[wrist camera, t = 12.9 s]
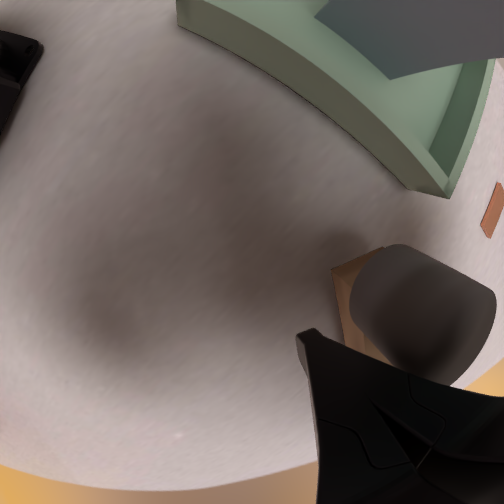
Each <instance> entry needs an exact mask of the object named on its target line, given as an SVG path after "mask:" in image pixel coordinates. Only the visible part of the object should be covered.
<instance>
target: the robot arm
mask: <svg viewBox="0 0 504 504" xmlns="http://www.w3.org/2000/svg"><path fill="white" fill-rule="evenodd" d="M32 49H34V50H33V52H32V53H31V54H30V55H29V53H30V51H31V50H32ZM42 51H43V45H42V44H41V43H40V42H38V41H37V40H34V39H31V38H28V37H24V36H21V35H17V34H13V33H9V32H5V31H1V30H0V134H1V131H2V129H3V126H4V124H5V122H6V119H7V117H8V115H9V113H10V110H11V108H12V106H13V104H14V102H15V100H16V98H17V96H18V94H19V92H20V90H21V88H22V86H23V84H24V82H25V81H26V79H27V77H28V75H29V74H30V72H31V70H32V68H33V67H34V65H35V63H36V62H37V60H38V59H39V57H40V55H41V53H42ZM296 344H297V351H298V356H299V359H300V362H301V364H302V366H303V368H304V370H305V372H306V375H307V377H308V384H309V391H310V398H311V406H312V414H313V422H314V430H315V438H316V447H317V456H318V465H319V470H318V483H317V496H316V504H504V397H496V396H489V395H485V394H480V393H476V392H471V391H466V390H462V389H458V388H454V387H450V386H447V385H443V384H440V383H436V382H433V381H431V380H428V379H425V378H422V377H419V376H417V375H414V374H412V373H407V372H406V371H404V370H401V369H399V368H397V367H394V366H392V365H389V364H387V363H384V362H382V361H380V360H377V359H375V358H372V357H370V356H368V355H365V354H363V353H361V352H358V351H356V350H354V349H352V348H349V347H347V346H345V345H342V344H340V343H338V342H336V341H333V340H331V339H329V338H327V337H324V336H323V335H322V334H321V333H320V332H319V331H318V330H317V329H316V328H311V329H308V330H306V331H303V332H300V333H298V334H297V335H296Z"/></svg>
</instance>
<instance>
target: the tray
mask: <svg viewBox="0 0 504 504" xmlns="http://www.w3.org/2000/svg"><path fill="white" fill-rule="evenodd" d="M328 1H329V0H176V9H177V20H178V26H181V27H183V28H185V29H187V30H189V31H192V32H194V33H196V34H198V35H200V36H202V37H204V38H206V39H208V40H210V41H212V42H214V43H216V44H218V45H220V46H222V47H224V48H226V49H227V50H229V51H231V52H233V53H235V54H236V55H238V56H240V57H242V58H243V59H245V60H247V61H249V62H250V63H252V64H254V65H255V66H257V67H259V68H260V69H262V70H263V71H265V72H267V73H268V74H270V75H271V76H273V77H274V78H276V79H277V80H279V81H280V82H282V83H283V84H285V85H286V86H288V87H289V88H291V89H292V90H294V91H295V92H296V93H298V94H299V95H301V96H302V97H303V98H305V99H306V100H308V101H309V102H310V103H312V104H313V105H314V106H316V107H317V108H318V109H320V110H321V111H322V112H323V113H325V114H326V115H327V116H329V117H330V118H331V119H332V120H334V121H335V122H336V123H337V124H338V125H340V126H341V127H342V128H343V129H344V130H346V131H347V132H348V133H349V134H350V135H352V136H353V137H354V138H355V139H356V140H357V141H358V142H360V143H361V144H362V145H363V146H364V147H365V148H366V149H367V150H369V151H370V152H371V153H372V154H373V155H374V156H375V157H376V158H377V159H378V160H379V161H380V162H381V163H382V164H383V165H384V166H385V167H386V168H388V169H389V170H390V171H391V172H392V173H393V174H394V175H395V176H396V177H397V178H398V180H399V181H400V182H401V183H402V184H403V185H404V186H405V187H406V188H407V189H408V190H413V191H417V192H422V193H426V194H430V195H434V196H438V197H442V198H446V199H450V197H451V195H452V193H453V191H454V189H455V186H456V184H457V182H458V179H459V177H460V175H461V172H462V170H463V168H464V165H465V163H466V160H467V157H468V155H469V152H470V150H471V147H472V144H473V141H474V138H475V136H476V133H477V130H478V127H479V123H480V120H481V117H482V114H483V110H484V107H485V103H486V100H487V96H488V92H489V88H490V84H491V80H492V75H493V70H494V65H495V60H496V58H495V59H487V60H480V61H473V62H467V63H462V64H456V65H451V66H446V67H441V68H436V69H432V70H428V71H423V72H419V73H415V74H411V75H407V76H404V77H400V78H396V79H393V80H389V79H388V78H387V77H386V76H385V75H384V74H383V73H382V72H381V71H380V70H379V69H378V68H377V67H376V66H374V65H373V64H372V63H371V62H370V61H369V60H368V59H367V58H366V57H364V56H363V55H362V54H361V53H360V52H359V51H357V50H356V49H355V48H354V47H353V46H351V45H350V44H349V43H348V42H346V41H345V40H344V39H343V38H341V37H340V36H339V35H338V34H336V33H335V32H334V31H332V30H331V29H330V28H328V27H327V26H325V25H324V24H323V23H321V22H320V21H318V20H317V19H315V18H314V16H315V15H316V14H317V13H318V12H319V11H320V9H321V8H322V7H323V6H324V5H325V4H326V3H327V2H328Z"/></svg>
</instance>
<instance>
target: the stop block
mask: <svg viewBox="0 0 504 504" xmlns="http://www.w3.org/2000/svg"><path fill="white" fill-rule="evenodd" d="M314 18H315V19H317V20H318V21H320V22H321V23H323V24H324V25H325V26H327V27H328V28H330V29H331V30H332V31H334V32H335V33H336V34H338V35H339V36H340V37H341V38H343V39H344V40H345V41H346V42H348V43H349V44H350V45H351V46H353V47H354V48H355V49H356V50H357V51H359V52H360V53H361V54H362V55H363V56H364V57H366V58H367V59H368V60H369V61H370V62H371V63H372V64H373V65H374V66H376V67H377V68H378V69H379V70H380V71H381V72H382V73H383V74H384V75H385V76H386V77H387V78H388V79H389V80H393V79H396V78H400V77H404V76H407V75H411V74H415V73H419V72H423V71H428V70H432V69H436V68H441V67H446V66H451V65H456V64H462V63H467V62H473V61H480V60H487V59H495V58H504V0H329V1H328V2H327V3H326V4H325V5H324V6H323V7H322V8H321V9H320V11H319V12H318V13H317V14H316V15H315V16H314Z"/></svg>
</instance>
